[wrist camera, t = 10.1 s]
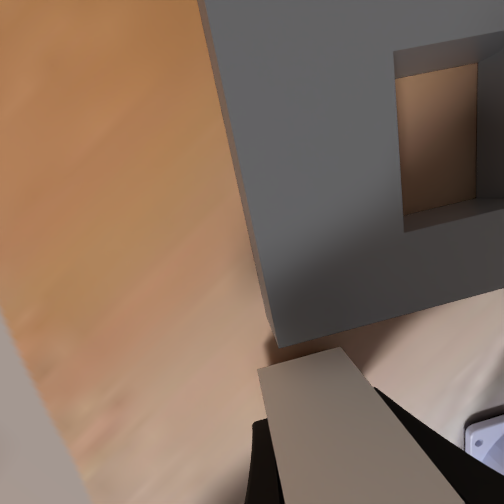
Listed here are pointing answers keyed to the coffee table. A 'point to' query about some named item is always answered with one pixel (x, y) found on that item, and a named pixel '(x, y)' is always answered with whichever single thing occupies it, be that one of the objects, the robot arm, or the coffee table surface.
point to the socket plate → (353, 155)
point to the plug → (343, 438)
